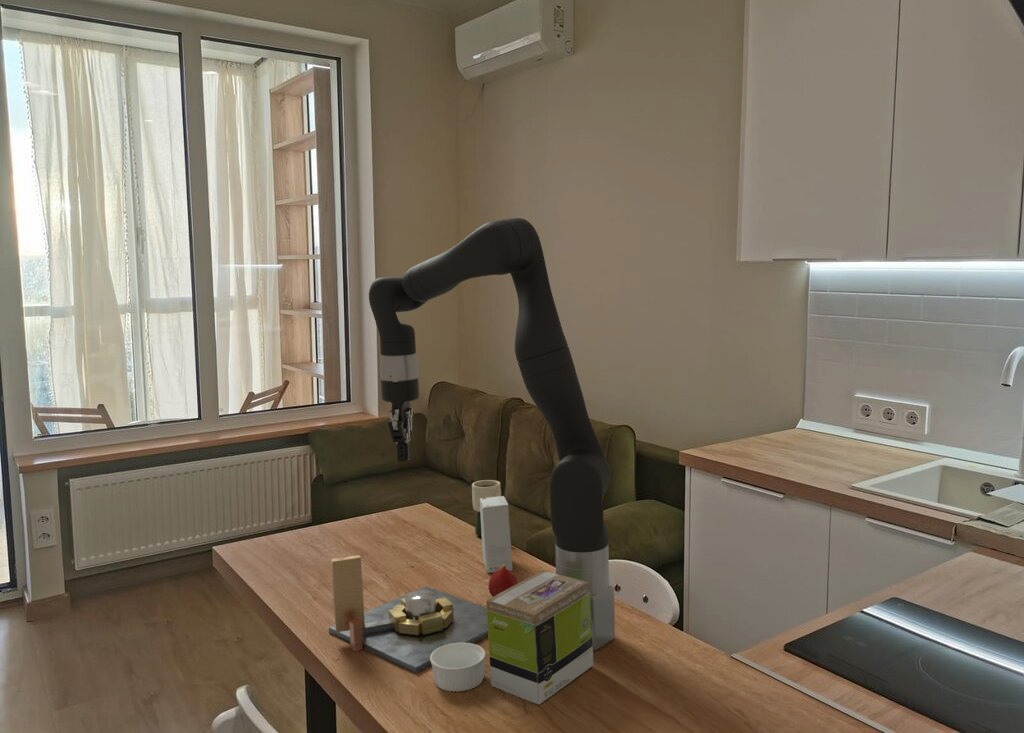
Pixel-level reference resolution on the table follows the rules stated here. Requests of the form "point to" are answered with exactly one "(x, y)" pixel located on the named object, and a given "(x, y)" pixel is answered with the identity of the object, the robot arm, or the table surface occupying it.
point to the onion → (501, 581)
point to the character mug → (483, 491)
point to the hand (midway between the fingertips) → (403, 460)
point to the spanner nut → (352, 608)
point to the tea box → (540, 635)
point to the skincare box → (495, 533)
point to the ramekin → (458, 666)
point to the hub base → (419, 648)
